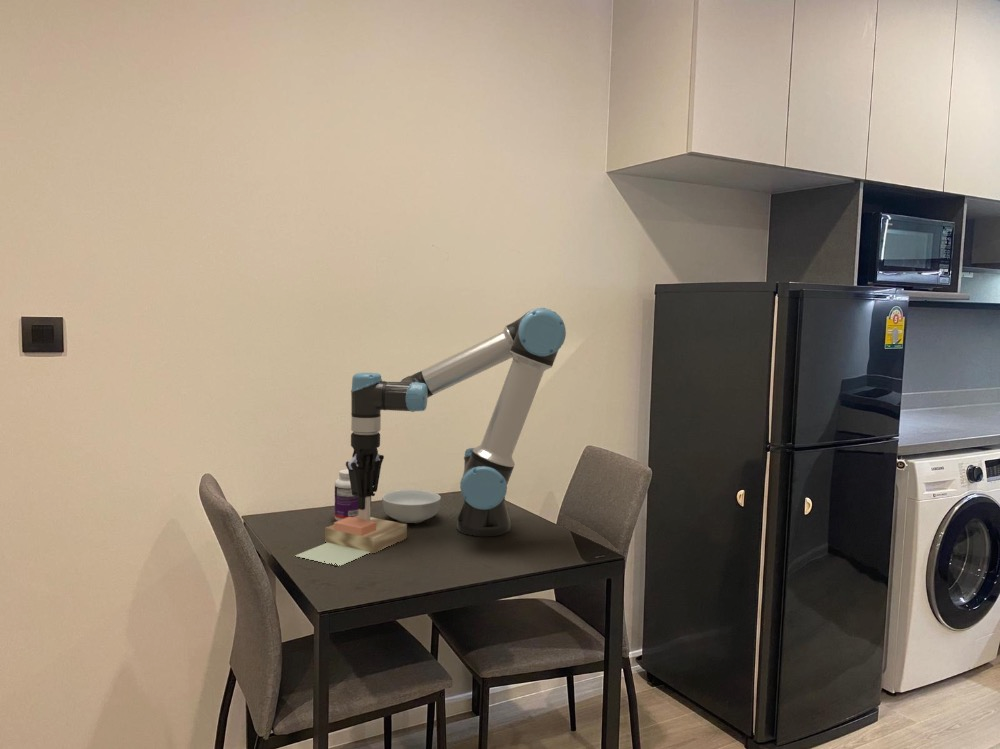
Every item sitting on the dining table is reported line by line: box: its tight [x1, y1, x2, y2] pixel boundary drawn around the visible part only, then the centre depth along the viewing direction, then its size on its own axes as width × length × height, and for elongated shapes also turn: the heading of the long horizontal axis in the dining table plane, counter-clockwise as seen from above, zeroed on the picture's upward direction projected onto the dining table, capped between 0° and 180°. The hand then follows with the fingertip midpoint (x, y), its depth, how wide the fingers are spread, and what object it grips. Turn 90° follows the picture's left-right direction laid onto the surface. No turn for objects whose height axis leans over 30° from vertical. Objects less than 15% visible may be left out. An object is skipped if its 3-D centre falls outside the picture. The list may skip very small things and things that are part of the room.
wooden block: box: [324, 515, 408, 554], centre depth 191 cm, size 16×14×4 cm
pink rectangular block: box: [333, 517, 376, 536], centre depth 188 cm, size 9×6×2 cm, turn 61°
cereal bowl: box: [381, 488, 442, 524], centre depth 211 cm, size 17×17×7 cm
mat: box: [294, 542, 372, 566], centre depth 180 cm, size 14×12×1 cm
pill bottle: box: [334, 468, 359, 522], centre depth 209 cm, size 8×8×14 cm
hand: (364, 520), depth 191 cm, fingers closed
